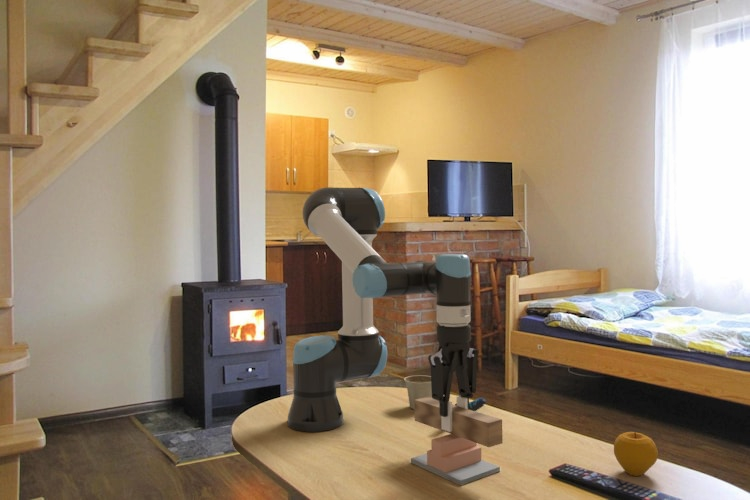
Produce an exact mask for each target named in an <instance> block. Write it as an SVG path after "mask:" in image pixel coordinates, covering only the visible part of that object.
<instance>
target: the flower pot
mask: <svg viewBox="0 0 750 500" xmlns="http://www.w3.org/2000/svg"><path fill="white" fill-rule="evenodd" d="M403 380H404V382H405V385H406V389H407V390H406V391H407V396H408V401H409V402H408V403H409V408H410V409H412V410H413V411H415V404H414V400H416V399H420V398H425V397H429V398H432V389H431V375H424V374H423V375H420V374H419V375H417V374H416V375H409V376H406V377H404V378H403Z"/></svg>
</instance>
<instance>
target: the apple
mask: <svg viewBox="0 0 750 500" xmlns="http://www.w3.org/2000/svg"><path fill="white" fill-rule="evenodd" d="M613 454H614V457H615V458H616V461H617V462H618V464H619V465H620V466H621V468H622V469H623V470H624V472H625V473H627V474H628V475H630V476H633V477H639V476H642V475H645V474H646V472H647V471H649V470H650V469H651V468H652V467H653V466H654V465H655V464H656V462H657V461H658V456H659V452H658V448H657V446H656V443H655V442H654V441H653V438H652V437H649V436H648V435H645V434H644V433H641V432H637V431H627V432H626V431H625V432H623V433H620V434H619V435H618V436H617V437H615V441H614V443H613Z"/></svg>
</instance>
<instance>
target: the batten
mask: <svg viewBox="0 0 750 500" xmlns="http://www.w3.org/2000/svg"><path fill="white" fill-rule="evenodd" d="M414 404H415V410H414V421H415V422H417V423H419V424H423V425H426V426H428V427H431V428H433V429H437V430H439V431H443V432H446V433H448V434H453V435H456V436H459V437H461V438H464V439H467V440H470V441H473V442H475V443H476V444H479V445H480V446H481V445H482V446H484V447H487V448H491V447H495V446H499V445H501V444H503V419H501V418H498V417H494V416H492V415H489V414H485V413H482V412H479V411H477V410H475V411H472V410H469V409H466V408H462V407H459V406H456V405H455V404H452V432H448V431H445V430H443V429H441V416H440V409H439V401H438V400H435V399H432V398H429V397H425V398H420V399H416V400H414Z"/></svg>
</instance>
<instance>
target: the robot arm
mask: <svg viewBox="0 0 750 500" xmlns="http://www.w3.org/2000/svg"><path fill="white" fill-rule="evenodd" d="M302 206H303V207H302V219H303V222H304V225H305V226H306V228H307V229H308V230H309V232H310V233H311V234H312V235H314V236H315V237H319V238H321V240H322V241H323V242H324V243H325V244H326V245H327V246H328V247H329V248H330V250H331V251H332V252H333V253H334V254H335V256H337V257H338V258H339V260H340V261H341V281H342V283H341V286H342V288H341V289H342V327H341V328H340V329H339V330H338V331H337V339H336V337H335V336H333V335H327V334H325V335H314V336H310V337H306V338H303V339H300V340H299V341H297V342H296V343H295V344H294V346H293V350H292V351H293V352H292V353H293V354H292V359H291V360H292V371H293V372H292V373H293V374H292V375H293V376H292V377H293V397H292V399H291V400H292V401H291V404H290V408H289V411H288V414H287V426H288V427H289V428H291V429H292V430H295V431H301V432H311V433H313V432H315V433H316V432H324V431H330V430H333V429H336V428H337V429H338V428H339V427H341V426H342V425H343V424H344V414H343V411H342V408H341V405H340V402H339V401H340V400H339V399H338V395H337V383H342V382H348V381H354V380H366V379H369V378H373V377H377V376H379V375H380V374H381V373H382V372H383V371H384V369H385V368H386V364H387V360H388V347H387V345H386V340H385V339H384V338H383V337H382V336H381V335H380V334H379V333H380V332H379V330H378V328H376V327H375V325H374V303H373V302H374V301H373V300H374V299H379V298H388V297H398V296H411V295H412V296H413V295H435V297H436V322H437V323H438V324H437V325H436V340H437V342H438V348H437V352H436V353H435V354H434V355H432V354H430V355H428V358H427V359H428V362H429V365H430V376H431V389H432V399H435V400H438V401H439V409H440V416H441V429H443V430H445V431H448V432H452V405H453V401H450V398H451V391H452V384H453V383H452V381H453V376H454V372H455V376H456V381H457V388H458V394H459V395H457V396H456V404H457V406H459V407H462V408H466V409H469V402H470V399H473V397H474V394H475V393H476V392H477V368H478V367H477V363H478V362H477V360H478V357H479V353H480V352H479V350H478V349H475V348H471V347H470V344H469V342H470V341H471V340H472V330H471V329H472V326H471V325H470V324H469V323H471V320H472V319H471V291H472V290H471V286H472V285H471V277H472V276H471V275H472V272H471V261H470V257H469V255H467V254H464V253H459V254H456V253H442V254H438V255H437V256H436V257H435V258H436V260H435V261H426V260H414V261H411V262H410V261H409V262H389V263H388V262H387V261H386V260H385V259H384V258H382V256H381V255H380V254H379V253H378V252H377V251H376V250H375V249H374V248H373V245H372V244H373V240H374V239H375V238H376V237H377V235H378V229H380V228H382V227H383V226H384V221H385V218H386V208H385V204H384V201H383V199H382V197H381V196H380V194H379V193H378V192H377V191H376V190H374V189H372V188H365V187H333V186H332V187H331V186H330V187H329V186H327V187H321V188H319V189H317V190H315V191H312V193H311V194H310V195H309V196H308V197H307V198H306V200H305V201H304V204H303V205H302ZM445 431H444V432H445ZM448 432H447V433H448Z"/></svg>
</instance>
